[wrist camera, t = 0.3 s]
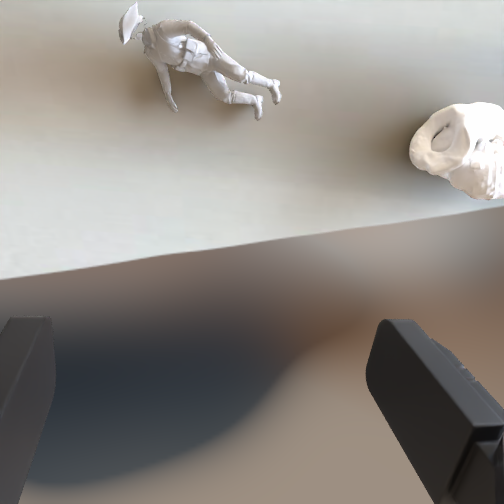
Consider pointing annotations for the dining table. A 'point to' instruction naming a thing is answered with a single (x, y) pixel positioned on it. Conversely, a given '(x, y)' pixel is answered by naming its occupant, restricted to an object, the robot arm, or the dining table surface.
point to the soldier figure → (194, 59)
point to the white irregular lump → (464, 148)
